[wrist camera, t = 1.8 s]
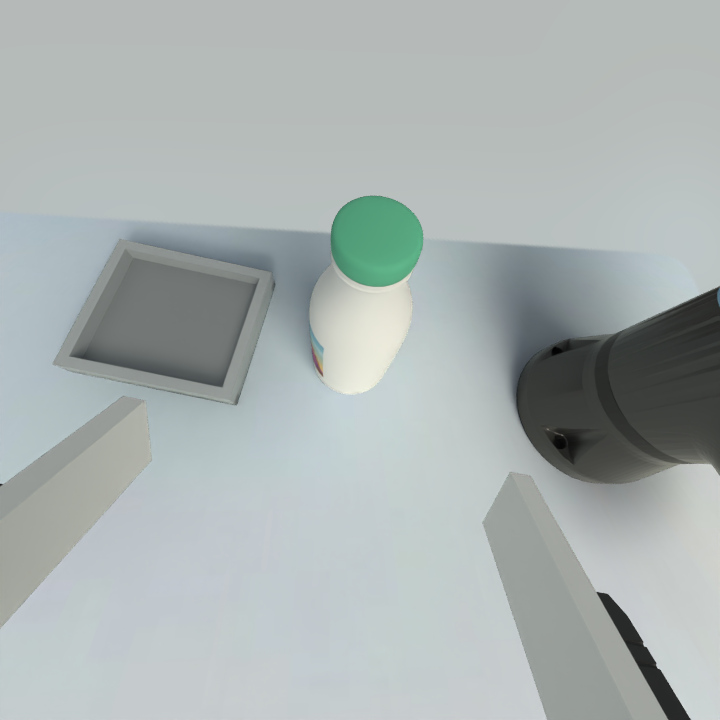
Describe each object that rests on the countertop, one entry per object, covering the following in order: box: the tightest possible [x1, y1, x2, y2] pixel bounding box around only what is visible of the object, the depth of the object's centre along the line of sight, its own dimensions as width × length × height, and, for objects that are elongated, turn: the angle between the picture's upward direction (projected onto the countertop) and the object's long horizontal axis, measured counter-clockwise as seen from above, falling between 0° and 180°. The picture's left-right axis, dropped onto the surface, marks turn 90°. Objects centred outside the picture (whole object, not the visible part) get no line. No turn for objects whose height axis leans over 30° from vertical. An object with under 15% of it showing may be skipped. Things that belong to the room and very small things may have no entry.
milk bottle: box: [309, 196, 423, 395], centre depth 25 cm, size 8×8×20 cm
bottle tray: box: [53, 239, 275, 405], centre depth 32 cm, size 16×14×2 cm
